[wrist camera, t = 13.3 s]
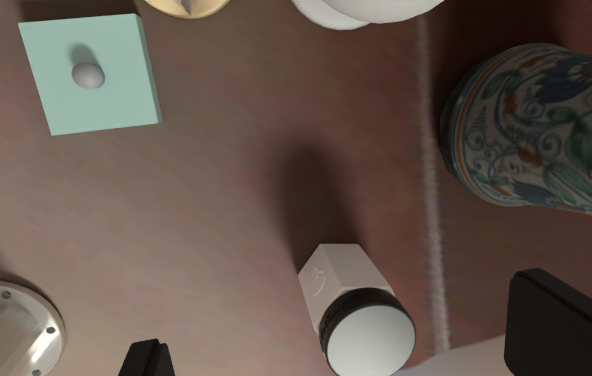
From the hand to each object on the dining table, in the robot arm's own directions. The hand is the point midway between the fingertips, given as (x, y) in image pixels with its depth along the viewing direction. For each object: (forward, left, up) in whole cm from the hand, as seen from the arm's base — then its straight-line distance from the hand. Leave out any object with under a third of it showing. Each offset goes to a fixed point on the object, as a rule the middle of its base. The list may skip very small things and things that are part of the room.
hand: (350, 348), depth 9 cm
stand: (-14, +9, -28) cm, 33 cm away
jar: (+6, -15, -28) cm, 33 cm away
